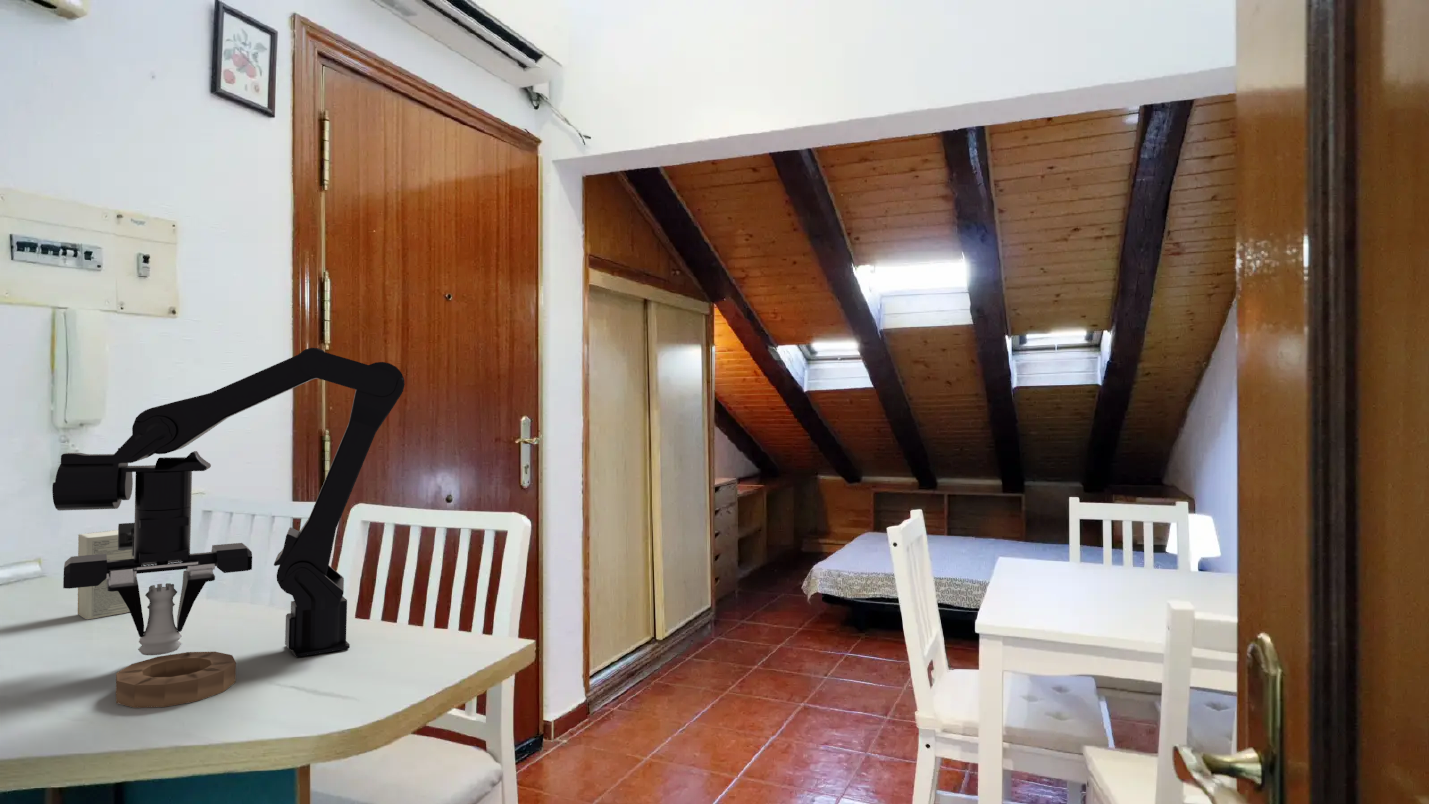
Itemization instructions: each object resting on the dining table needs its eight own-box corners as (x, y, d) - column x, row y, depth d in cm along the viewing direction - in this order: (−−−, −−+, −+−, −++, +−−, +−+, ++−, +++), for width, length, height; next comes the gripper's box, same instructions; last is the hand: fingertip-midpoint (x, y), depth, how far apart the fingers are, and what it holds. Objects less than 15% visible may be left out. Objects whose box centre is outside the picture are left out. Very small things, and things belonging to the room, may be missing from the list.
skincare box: (125, 606, 121) (127, 528, 121) (136, 612, 119) (138, 531, 119) (75, 615, 116) (77, 533, 116) (84, 620, 114) (87, 536, 113)
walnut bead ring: (227, 665, 97) (227, 646, 97) (240, 693, 88) (240, 671, 88) (114, 683, 90) (115, 662, 90) (117, 715, 81) (117, 692, 81)
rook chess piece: (159, 657, 94) (160, 591, 94) (128, 654, 95) (129, 588, 95) (190, 646, 99) (192, 583, 99) (161, 643, 100) (162, 580, 100)
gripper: (241, 496, 109) (238, 608, 109) (67, 504, 97) (64, 630, 97) (254, 505, 100) (251, 627, 100) (64, 516, 89) (61, 654, 89)
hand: (160, 633), depth 97 cm, fingers closed on rook chess piece, 3 cm apart
